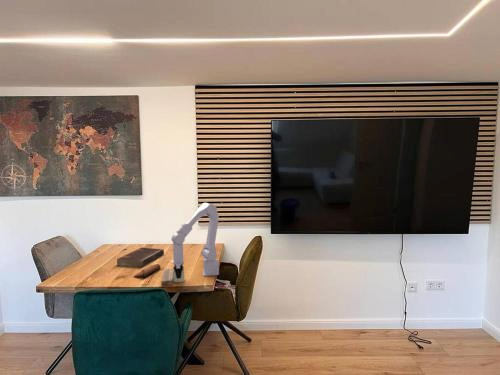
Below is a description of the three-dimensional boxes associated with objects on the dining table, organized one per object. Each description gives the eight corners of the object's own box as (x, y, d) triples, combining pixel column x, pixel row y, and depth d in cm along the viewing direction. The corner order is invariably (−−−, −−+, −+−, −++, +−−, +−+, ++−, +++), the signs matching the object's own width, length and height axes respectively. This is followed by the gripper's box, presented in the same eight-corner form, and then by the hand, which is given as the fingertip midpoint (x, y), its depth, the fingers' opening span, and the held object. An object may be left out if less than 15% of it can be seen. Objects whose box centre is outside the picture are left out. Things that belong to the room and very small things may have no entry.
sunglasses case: (149, 267, 200) (153, 259, 199) (157, 273, 199) (162, 265, 198) (132, 277, 183) (136, 268, 182) (140, 284, 182) (145, 275, 180)
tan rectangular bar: (173, 272, 192) (173, 268, 192) (172, 284, 172) (172, 280, 172) (163, 273, 190) (163, 269, 190) (161, 285, 171) (161, 281, 171)
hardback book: (142, 268, 201) (141, 260, 201) (117, 266, 205) (116, 259, 205) (164, 255, 229) (163, 248, 229) (141, 253, 233) (141, 247, 233)
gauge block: (184, 278, 182) (183, 266, 181) (184, 281, 177) (183, 269, 176) (172, 279, 181) (172, 267, 180) (172, 282, 176) (172, 270, 175)
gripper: (171, 250, 184) (172, 272, 185) (170, 258, 170) (171, 281, 171) (183, 250, 185) (184, 271, 186) (183, 257, 171) (184, 280, 172)
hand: (178, 276), depth 179 cm, fingers closed on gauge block, 5 cm apart
